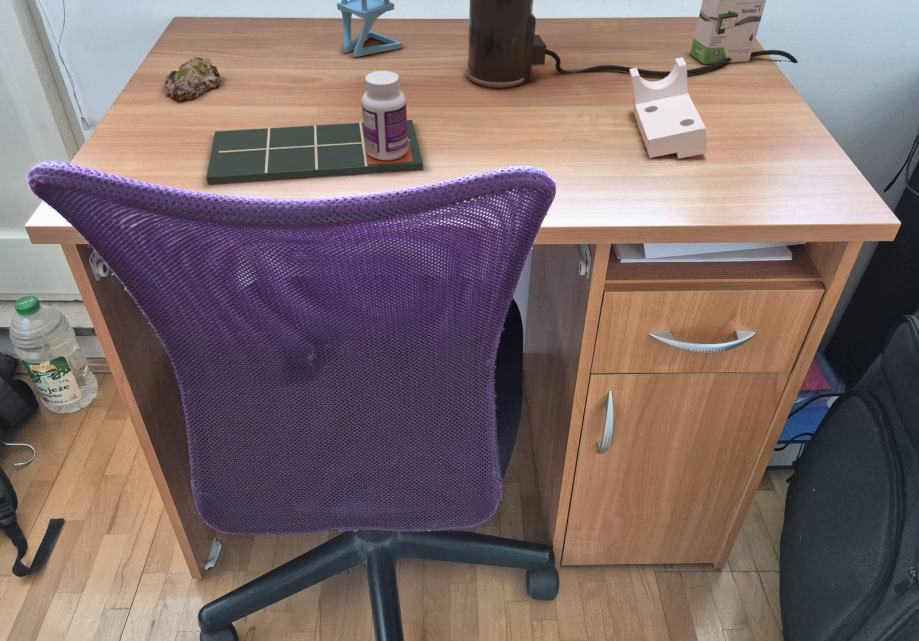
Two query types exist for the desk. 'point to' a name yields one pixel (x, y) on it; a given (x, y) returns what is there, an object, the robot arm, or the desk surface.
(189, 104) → the desk surface
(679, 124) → the bracket
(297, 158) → the grid board
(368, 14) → the chair
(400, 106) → the pill bottle
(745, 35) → the ink box
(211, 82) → the mineral rock
